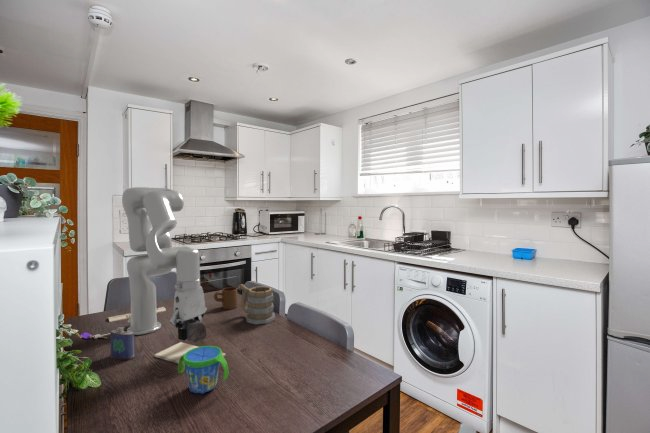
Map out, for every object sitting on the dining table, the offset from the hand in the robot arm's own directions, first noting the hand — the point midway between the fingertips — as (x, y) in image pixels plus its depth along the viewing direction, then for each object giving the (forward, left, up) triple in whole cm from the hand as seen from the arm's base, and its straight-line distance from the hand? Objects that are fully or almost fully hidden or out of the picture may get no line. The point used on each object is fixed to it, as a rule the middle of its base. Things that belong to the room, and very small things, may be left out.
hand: (189, 335), depth 114 cm
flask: (-21, -10, -8) cm, 25 cm away
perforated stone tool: (0, 0, -1) cm, 1 cm away
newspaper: (-56, +20, -8) cm, 60 cm away
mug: (-25, +46, -8) cm, 53 cm away
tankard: (-3, +41, -8) cm, 41 cm away
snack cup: (+19, -12, -8) cm, 24 cm away
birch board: (0, 0, -7) cm, 7 cm away
